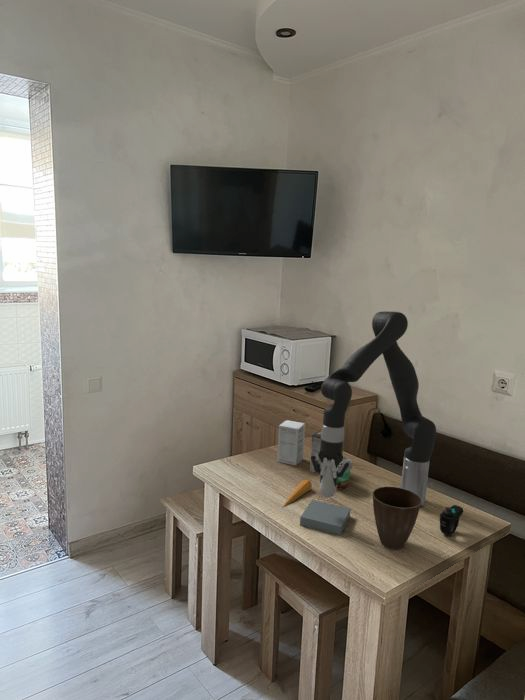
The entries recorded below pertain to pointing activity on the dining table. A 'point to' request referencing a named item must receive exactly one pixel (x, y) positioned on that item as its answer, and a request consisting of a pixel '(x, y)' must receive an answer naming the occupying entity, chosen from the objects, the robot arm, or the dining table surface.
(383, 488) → the plant pot
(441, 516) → the controller
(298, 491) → the carrot
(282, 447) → the supplement box
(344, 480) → the food container
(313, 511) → the base plinth
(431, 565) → the dining table surface
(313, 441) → the coffee box
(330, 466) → the salt shaker
